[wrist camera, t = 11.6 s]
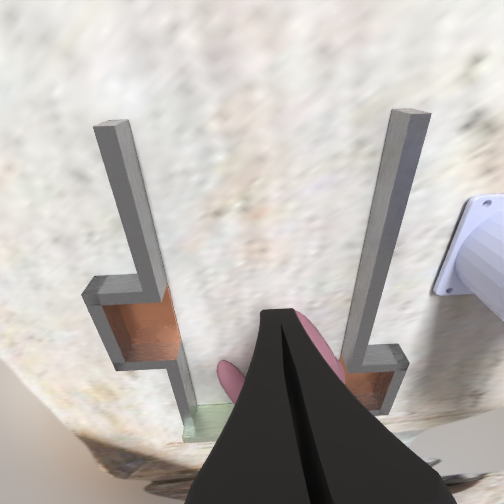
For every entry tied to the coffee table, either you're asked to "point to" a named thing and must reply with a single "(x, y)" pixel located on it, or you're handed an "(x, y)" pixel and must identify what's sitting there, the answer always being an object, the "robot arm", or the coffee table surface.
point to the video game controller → (234, 379)
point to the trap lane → (160, 304)
